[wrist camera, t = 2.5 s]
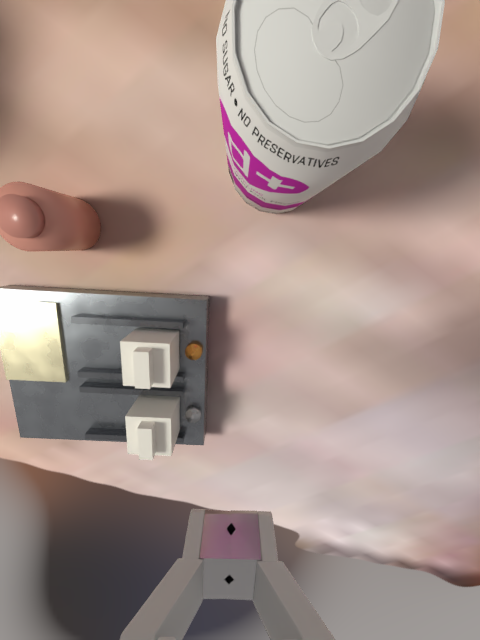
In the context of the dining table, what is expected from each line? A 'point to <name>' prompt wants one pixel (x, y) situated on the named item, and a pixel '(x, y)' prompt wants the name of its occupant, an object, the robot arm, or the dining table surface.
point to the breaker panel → (96, 359)
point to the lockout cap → (46, 219)
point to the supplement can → (316, 88)
